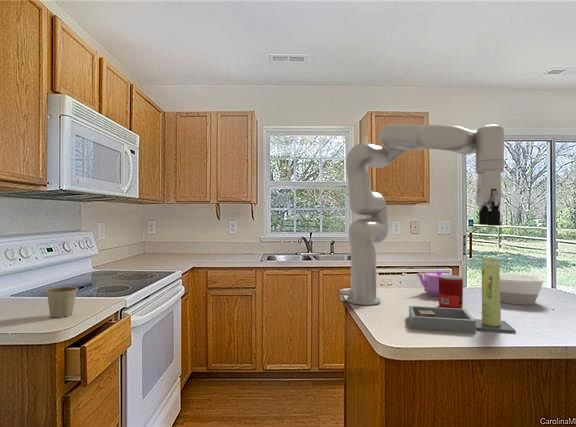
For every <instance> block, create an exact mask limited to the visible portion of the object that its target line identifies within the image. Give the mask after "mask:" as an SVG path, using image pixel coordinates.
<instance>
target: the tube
mask: <svg viewBox="0 0 576 427" xmlns="http://www.w3.org/2000/svg"><path fill="white" fill-rule="evenodd" d="M500 269H501V268H500V259H494V258H487V257H486V258H485V257H481V319H482V323H483V324H484V325H488V326H500V325H501V321H502V320H501V318H502V317H501V301H500V274H501V273H500Z"/></svg>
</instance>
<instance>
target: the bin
mask: <svg viewBox="0 0 576 427" xmlns="http://www.w3.org/2000/svg"><path fill="white" fill-rule="evenodd" d="M418 311H432V312H433V313H435V314H436V317H421V316H418ZM408 317H409V322H410V327H411V329H412V330H422V331H423V330H424V331H425V330H426V331H438V332H440V331H441V332H452V333H467V334H476V333H477V330H476V321H475V320H474V319H475V318H474V317H473V316H472V315H471V314H470V312H468V311H467V309H466V308H461V309H456V308H443V307H440V306H438V307H436V306H421V305H419V306H417V305H409V306H408Z"/></svg>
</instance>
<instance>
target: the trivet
mask: <svg viewBox="0 0 576 427" xmlns="http://www.w3.org/2000/svg"><path fill="white" fill-rule="evenodd" d="M474 320H475V321H476V332H478V331H481V332H491V333H492V332H494V333H509V334H516V333H517V331H516V329H515V328H513V326H511V325H510V324H509V323H508V322H507V321H505V320H501V325H500V326H488V325H484V324H483V323H482V318H474Z"/></svg>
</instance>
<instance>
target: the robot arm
mask: <svg viewBox="0 0 576 427" xmlns="http://www.w3.org/2000/svg"><path fill="white" fill-rule="evenodd" d="M378 136H379V138H378V139H379V141H380V143H381V145H377V144H374V143H369V142H368V143H367V142H361V143H357V144H355V145H354V146H352V147H351V149H350V150H349V152H348V153H347V156H346V160H345V169H346V171H345V172H346V176H347V182H348V184H347V185H348V197H349V206H350V210H351V212H352V213H353V214H354V215H357V216H365V218H359V219H356V220H354V221H352V222H351V223H350V225H349V228H348V240H349V244H350V245H349V246H350V288H349V289H339V294H338V295H341V296H342V297H343V296H345V297H346V302H348V303H350V304H353V305H361V306H372V305H378V304H380V303H381V298H380V297H377V252H376V248H375V243H376V244H377V243H381V242H383V241H384V240H386V239H387V237H388V233H389V220H388V210H387V204H386V203H387V202H386V200H385V198H384V196H383V195H382V194H381V193H379V192H377V191H372V184H371V182H372V181H371V177H370V174H369V172H368V169H367V167H368V168H369V167H370V168H376V169H382V168H385V167H388V166H389V165H390V164H391V163H392V162H394V161H395V160H397V159H398V158H399V157H400V156H402V155H404V153H405V152H407V151H418V152H421V151H424V150H425V149H426V150H440V151H449V152H453V153H457V154H461V155H464V156H465V155H466V156H467V155H474V154H475V174H477V180H476V192H475V193H476V195H475V196H476V197H475V204H476V206H478V207H479V210H478V211H479V212H478V216H479V217H478V224H479V225H481V226H482V225H484V226H488V227H489V226H496V227H497V226H500V225H501V207H500V205H501V204H502V174H503V173H504V172H505V129H504V127H503V126H501V125H498V124H489V125H488V124H487V125H483V126H482V125H481V127H478V128H477V129H476V130H470V129H468V128H466V127H465V128H464V127H462V126H459V125H448V124H447V125H444V124H442V125H441V124H428V125H426V124H425V125H424V124H423V125H421V124H420V125H419V124H418V125H416V124H402V123H400V124H399V123H390V124H385V126H383V127H382V128H381V129H380V131H379V135H378ZM501 173H502V174H501Z"/></svg>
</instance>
